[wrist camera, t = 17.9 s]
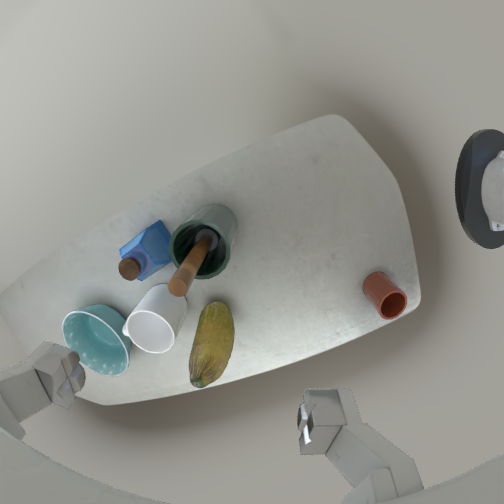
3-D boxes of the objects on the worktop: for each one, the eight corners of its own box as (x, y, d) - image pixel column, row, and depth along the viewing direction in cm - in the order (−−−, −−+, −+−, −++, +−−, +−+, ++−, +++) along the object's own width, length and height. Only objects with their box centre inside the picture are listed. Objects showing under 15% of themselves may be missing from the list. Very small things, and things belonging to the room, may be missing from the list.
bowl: (126, 364, 55) (113, 388, 47) (73, 323, 52) (55, 342, 44) (155, 325, 51) (141, 350, 43) (94, 277, 48) (72, 295, 41)
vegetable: (223, 286, 48) (204, 361, 29) (245, 311, 50) (240, 391, 31) (198, 304, 50) (170, 380, 31) (220, 327, 51) (204, 407, 32)
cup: (239, 205, 44) (232, 222, 31) (235, 250, 46) (228, 282, 34) (193, 201, 44) (169, 217, 31) (191, 245, 46) (169, 276, 34)
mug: (144, 329, 52) (125, 360, 42) (125, 294, 49) (101, 321, 40) (195, 315, 50) (183, 348, 40) (176, 276, 48) (158, 304, 38)
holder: (391, 272, 47) (410, 291, 39) (384, 298, 49) (401, 319, 41) (366, 270, 47) (384, 289, 39) (359, 297, 49) (374, 319, 41)
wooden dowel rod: (224, 219, 44) (195, 272, 23) (223, 238, 45) (195, 306, 24) (204, 217, 44) (159, 268, 23) (203, 237, 45) (160, 301, 24)
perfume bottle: (160, 219, 45) (130, 239, 33) (180, 249, 46) (157, 277, 35) (134, 238, 46) (101, 262, 34) (154, 267, 47) (127, 297, 36)
